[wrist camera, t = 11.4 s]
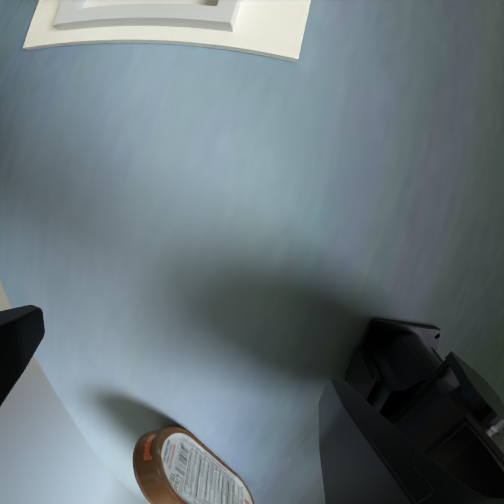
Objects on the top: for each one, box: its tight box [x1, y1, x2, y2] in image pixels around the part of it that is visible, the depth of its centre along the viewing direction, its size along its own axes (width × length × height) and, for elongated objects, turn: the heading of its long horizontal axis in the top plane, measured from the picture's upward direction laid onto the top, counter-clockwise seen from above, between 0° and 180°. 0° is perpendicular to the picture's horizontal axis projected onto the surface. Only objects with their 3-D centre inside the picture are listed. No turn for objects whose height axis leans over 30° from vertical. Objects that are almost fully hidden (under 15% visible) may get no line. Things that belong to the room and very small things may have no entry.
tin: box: [133, 427, 254, 504], centre depth 22 cm, size 15×3×8 cm, turn 31°
